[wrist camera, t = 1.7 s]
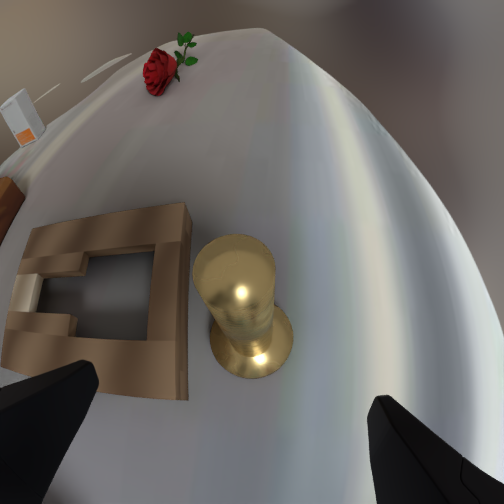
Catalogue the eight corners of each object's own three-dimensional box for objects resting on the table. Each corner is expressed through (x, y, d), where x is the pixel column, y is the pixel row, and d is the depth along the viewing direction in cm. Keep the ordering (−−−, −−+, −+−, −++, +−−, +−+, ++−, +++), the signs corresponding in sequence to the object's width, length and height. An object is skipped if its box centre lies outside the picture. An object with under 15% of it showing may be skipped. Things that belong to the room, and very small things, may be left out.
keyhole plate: (192, 222, 24) (184, 202, 22) (188, 400, 16) (175, 399, 14) (45, 242, 24) (32, 228, 22) (20, 373, 17) (0, 366, 14)
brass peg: (251, 395, 17) (229, 390, 7) (197, 339, 19) (127, 269, 9) (308, 338, 18) (349, 265, 9) (252, 288, 21) (237, 183, 11)
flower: (177, 15, 44) (134, 59, 31) (214, 24, 47) (190, 71, 34) (167, 44, 51) (126, 103, 38) (201, 52, 55) (176, 113, 42)
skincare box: (21, 148, 39) (-3, 109, 29) (29, 136, 41) (8, 98, 31) (38, 140, 39) (14, 97, 28) (46, 128, 41) (25, 86, 31)
